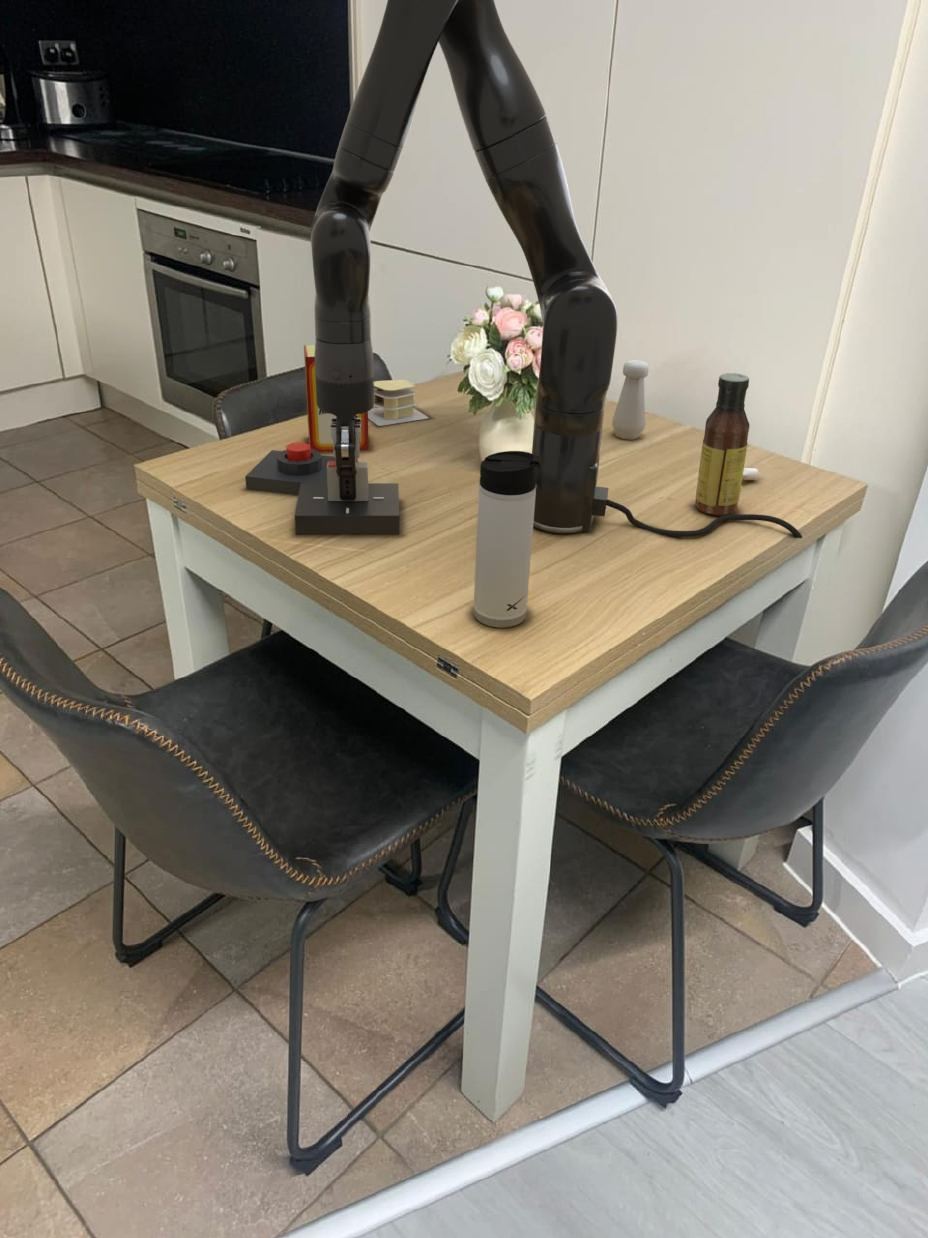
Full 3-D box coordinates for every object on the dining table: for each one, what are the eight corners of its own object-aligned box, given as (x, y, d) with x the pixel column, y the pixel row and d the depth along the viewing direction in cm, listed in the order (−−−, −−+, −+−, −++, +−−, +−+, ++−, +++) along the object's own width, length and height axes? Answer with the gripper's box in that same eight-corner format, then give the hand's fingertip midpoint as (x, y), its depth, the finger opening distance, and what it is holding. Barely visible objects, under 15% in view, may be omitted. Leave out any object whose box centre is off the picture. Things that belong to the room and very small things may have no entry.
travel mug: (524, 632, 109) (537, 469, 99) (468, 624, 110) (475, 462, 100) (532, 605, 114) (545, 448, 104) (478, 598, 115) (486, 442, 105)
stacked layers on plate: (406, 403, 177) (406, 374, 174) (429, 418, 170) (429, 388, 168) (357, 410, 173) (356, 380, 170) (378, 426, 166) (378, 395, 163)
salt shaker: (605, 430, 168) (613, 357, 161) (634, 428, 169) (644, 355, 163) (619, 442, 163) (628, 367, 156) (649, 439, 165) (660, 365, 158)
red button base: (352, 471, 148) (351, 447, 146) (330, 499, 139) (329, 473, 137) (272, 462, 150) (271, 438, 148) (246, 489, 141) (243, 464, 139)
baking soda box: (310, 452, 154) (305, 354, 146) (308, 438, 160) (303, 342, 151) (368, 450, 156) (366, 353, 148) (365, 436, 161) (363, 342, 153)
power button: (314, 454, 144) (313, 443, 143) (306, 463, 141) (306, 452, 140) (291, 452, 144) (291, 441, 143) (283, 460, 141) (282, 449, 140)
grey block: (368, 495, 133) (367, 460, 130) (368, 501, 131) (367, 465, 129) (328, 495, 133) (327, 460, 130) (328, 501, 131) (326, 465, 128)
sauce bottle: (737, 503, 143) (763, 372, 132) (735, 520, 137) (762, 385, 127) (693, 497, 144) (715, 367, 134) (690, 514, 139) (712, 380, 128)
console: (398, 502, 139) (398, 482, 137) (399, 535, 130) (399, 514, 128) (301, 502, 138) (300, 481, 136) (295, 535, 128) (294, 514, 127)
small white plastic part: (765, 486, 149) (769, 468, 147) (727, 485, 148) (730, 466, 147) (759, 477, 152) (763, 459, 150) (722, 476, 152) (725, 458, 150)
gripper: (373, 389, 117) (375, 516, 126) (374, 357, 129) (375, 476, 138) (311, 388, 117) (318, 516, 126) (318, 356, 128) (323, 475, 137)
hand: (348, 494), depth 132 cm, fingers closed on grey block, 2 cm apart
